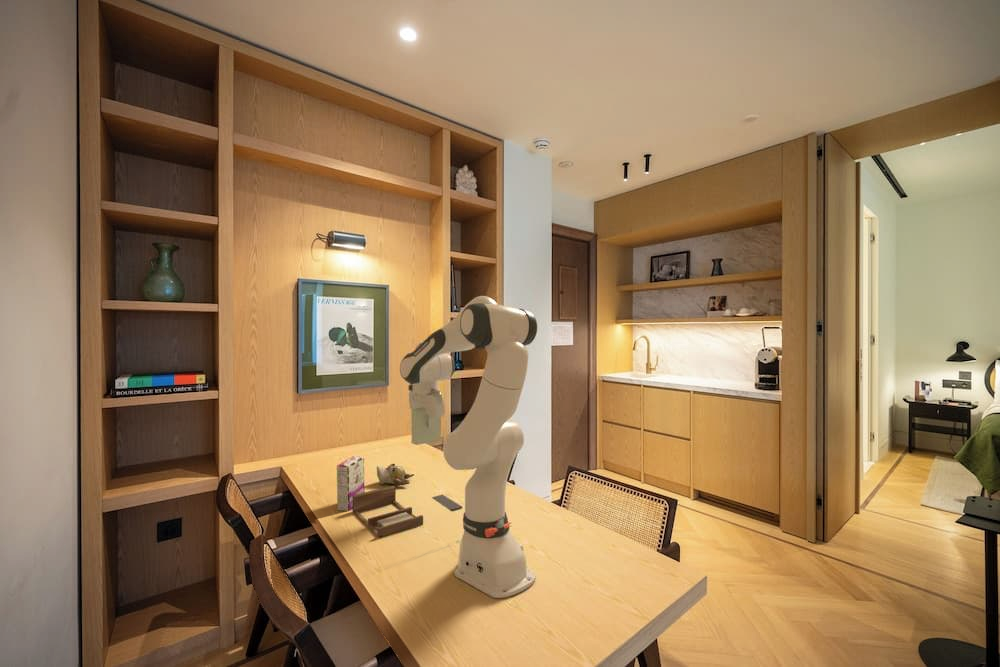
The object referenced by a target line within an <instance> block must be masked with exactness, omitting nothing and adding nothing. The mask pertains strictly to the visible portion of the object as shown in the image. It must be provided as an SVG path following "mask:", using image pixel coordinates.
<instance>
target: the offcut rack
mask: <svg viewBox="0 0 1000 667" xmlns="http://www.w3.org/2000/svg"><path fill="white" fill-rule="evenodd" d="M396 490H397V488H396V486H395V485H391V486H386V487H383V488H378V489H373V490H369V491H364V493H360V494H356V495H353V509H352V513H353V514H354V515H355V516H356V517H357V518H358V519H359V520H360V521H361V522H362V523H363V524H364V525H365V526H366V527H367V528H368V529H369V530H370V531H371V532H372V533H373V534H374V535H375V536H376V537H377V538H378V539H381V538H384V537H387V536H390V535H391V536H392V535H393V534H396V533H400V532H403V531H407V530H410V529H413V528H416V527H419V526H423V525H424V515H423V514H420V515H417V516H416V515H415V514H413V507H412V506H409V507H406V508H405V507H404V506H403V505H402V504H400V503H399V502H397V500H396V497H397V495H396V492H397V491H396ZM390 505H394V506H395V507H396V508H398V510H394V511H391V512H387V513H383V514H379V515H376V516H372V517H369V518H365V516H363V515H362V514H361V512H362V513H363V512H365V511H366V512H367V511H370V510H373V509H377V508H382V507H385V506H390ZM405 512H406V513H408V514H409V515H411V516H412V517H413V518H410V519H407V520H403V521H400V522H396V523H393V524H390V525H386V526H383V527H379V528H378V527H377V521H379V520H382V519H385V518H389V517H392V516H395V515H398V514H401V513H405ZM376 527H377V528H376Z"/></svg>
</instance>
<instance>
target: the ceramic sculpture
mask: <svg viewBox="0 0 1000 667" xmlns="http://www.w3.org/2000/svg"><path fill="white" fill-rule="evenodd" d="M376 475H377V479H378V481H379V484H380V485H384V484H386V483H387V484H390V485H391V484H392V485H397V486H406V485H409V484H410V482H409V481H408V479H410V478H413V477H414V476H415V474H413V473H412V474H409V473H407V472H406V471H405V469H404V468H403V466H399V465H396V464H395V463H391V464H389V465H388V466H387V467H384V466H378V465H377V466H376Z"/></svg>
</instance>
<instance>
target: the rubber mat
mask: <svg viewBox="0 0 1000 667" xmlns="http://www.w3.org/2000/svg"><path fill="white" fill-rule="evenodd" d="M431 498H432V499H433V500H434V501H436V502H437V503H438V504H440V505H441V506H442V507H445V508H446V509H447V510H449V511H450V512H454V511H456V510H460V509H463V506H462V505H461V504H458V503H457V502H456V501H454V500H452V499H450V498H449V497H448V496H446V495H445V494H440V495H435V496H433V497H431Z"/></svg>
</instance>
